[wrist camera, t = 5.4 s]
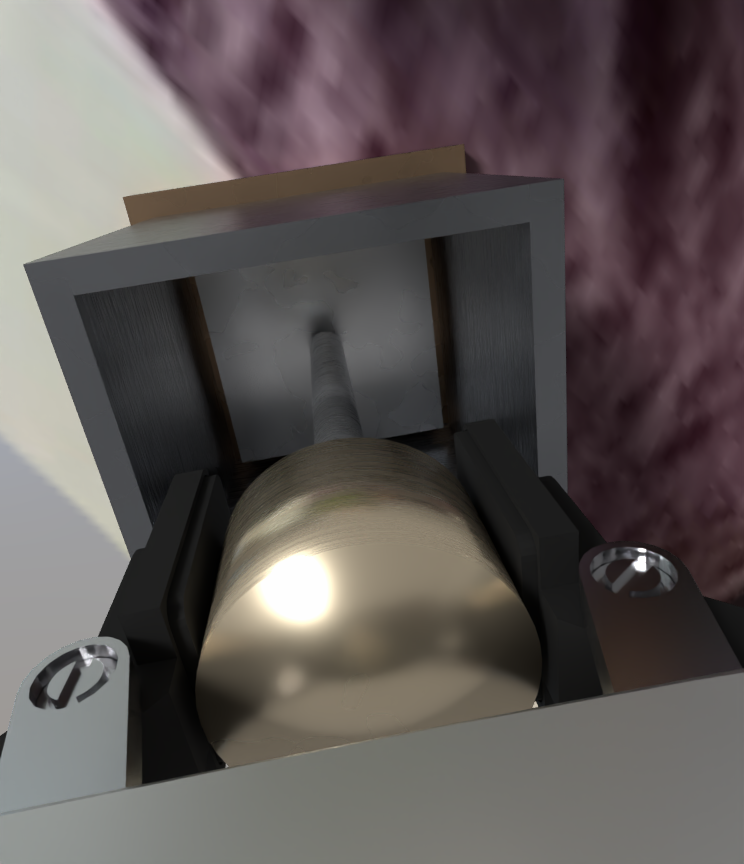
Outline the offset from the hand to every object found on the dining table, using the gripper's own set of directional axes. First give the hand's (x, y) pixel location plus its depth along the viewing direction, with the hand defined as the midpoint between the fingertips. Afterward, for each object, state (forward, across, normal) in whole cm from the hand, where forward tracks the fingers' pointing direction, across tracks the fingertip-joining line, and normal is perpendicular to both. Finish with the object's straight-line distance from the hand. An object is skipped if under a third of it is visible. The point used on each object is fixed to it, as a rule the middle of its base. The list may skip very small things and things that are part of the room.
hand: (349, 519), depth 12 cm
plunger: (+13, 0, 0) cm, 13 cm away
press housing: (+14, 0, 0) cm, 14 cm away
